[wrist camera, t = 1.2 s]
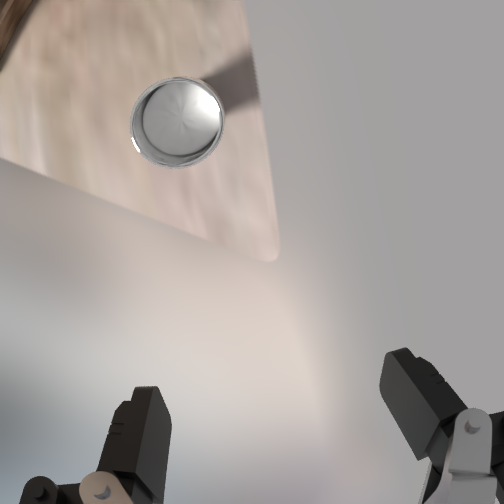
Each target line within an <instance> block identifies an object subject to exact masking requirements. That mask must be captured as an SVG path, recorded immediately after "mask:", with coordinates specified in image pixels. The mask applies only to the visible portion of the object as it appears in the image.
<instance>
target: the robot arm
mask: <svg viewBox="0 0 504 504" xmlns="http://www.w3.org/2000/svg"><path fill="white" fill-rule="evenodd" d="M380 392H381V395H382V398H383V400H384V402H385V403H386V405H387V406H388V408H389V410H390V412H391V414H392V415H393V417H394V419H395V421H396V422H397V424H398V426H399V428H400V429H401V431H402V433H403V435H404V437H405V438H406V440H407V442H408V444H409V446H410V447H411V449H412V451H413V453H414V455H415V456H416V458H417V460H418V461H419V460H421V459H423V458H425V457H429V458H430V460H431V462H430V464H429V467H428V471H427V475H426V478H425V482H424V486H423V489H422V492H421V496H420V499H419V502H418V504H494V503H495V496H496V497H497V499H498V501H499V502H500V504H504V411H503V412H499V413H494V414H489V415H488V414H487V413H486V412H484V411H482V410H480V409H476V408H470V409H468V408H467V406H466V405H465V404H464V403H463V401H462V400H461V399H460V398H459V396H458V395H457V394H456V393H455V392H454V390H453V389H452V388H451V386H450V385H449V384H448V383H447V382H445V380H444V378H443V377H442V376H441V374H439V372H438V371H437V370H436V369H435V367H434V366H433V365H432V364H431V363H430V362H428V361H426V360H425V359H423V358H421V357H418V358H416V357H415V356H414V355H413V354H412V353H411V351H410V350H409V349H408V348H402V349H398V350H395V351H391V352H388V353H387V354H386V355H385V359H384V364H383V369H382V374H381V378H380ZM111 423H112V425H110V428H109V431H108V432H109V434H108V435H107V438H106V441H105V444H104V448H103V451H102V454H101V459H100V461H99V465H98V468H97V470H96V472H93V473H90V474H89V475H87V476H86V477H85V478H84V479H83V480H82V482H81V483H77V484H67V485H56V484H55V483H54V482H53V481H52V480H50V479H49V478H47V477H44V476H37V477H34V478H32V479H30V480H29V481H28V482H27V483H26V485H25V487H24V489H23V493H22V496H21V499H20V503H19V504H163V501H164V490H165V480H166V471H167V463H168V454H169V446H170V438H171V430H172V424H171V417H170V414H169V411H168V409H167V407H166V405H165V402H164V400H163V397H162V395H161V393H160V390H159V388H158V387H157V386H151V387H149V386H148V387H135V389H134V392H133V395H132V398H131V401H123V402H122V404H121V405H120V406H119V407H118V408H117V409H116V410H115V413H114V416H113V419H112V422H111Z"/></svg>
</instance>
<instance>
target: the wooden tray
mask: <svg viewBox="0 0 504 504" xmlns="http://www.w3.org/2000/svg"><path fill="white" fill-rule="evenodd" d="M31 1H32V0H0V59H1V57H2V55H3V53H4V50H5V48H6V46H7V44H8V42H9V40H10V38H11V36H12V34H13V32H14V31H15V29H16V27H17V25H18V23H19V22H20V20H21V18H22V16H23V15H24V13H25V11H26V10H27V8H28V6H29V5H30V3H31Z"/></svg>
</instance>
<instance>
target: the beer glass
mask: <svg viewBox="0 0 504 504" xmlns="http://www.w3.org/2000/svg"><path fill="white" fill-rule="evenodd" d="M224 123H225V111H224V106H223V103H222V101H221V98H220V97H219V95H218V93H217V92H216V91H215V90H214V89H213V88H212V87H211V86H210V85H209V84H207V83H206V82H204V81H202V80H199V79H196V78H193V77H186V76H180V77H173V78H167V79H164V80H161V81H159V82H157V83H155V84H153V85H151V86H150V87H149V88H147V89H146V90H145V91H144V92H143V93H142V94H141V95H140V97H139V98H138V99H137V101H136V103H135V105H134V107H133V109H132V113H131V117H130V133H131V137H132V140H133V143H134V145H135V147H136V148H137V150H138V151H139V152H140V154H141V155H142V156H143V157H144V158H146V159H147V160H148V161H150V162H151V163H153V164H155V165H157V166H160V167H164V168H169V169H181V168H186V167H190V166H193V165H195V164H197V163H199V162H201V161H203V160H204V159H205V158H207V157H208V156H209V155H210V154H211V153H212V152H213V151H214V149H215V148H216V147H217V145H218V143H219V142H220V140H221V137H222V134H223V130H224Z"/></svg>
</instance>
